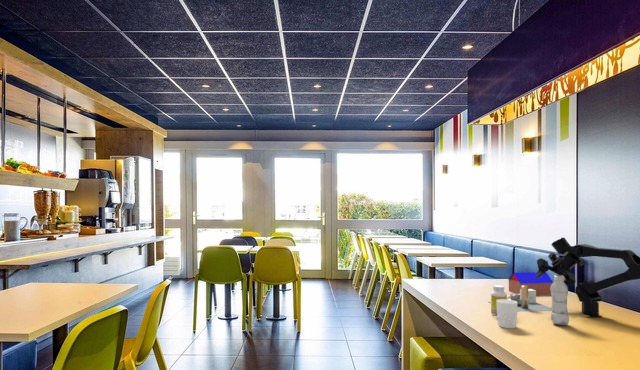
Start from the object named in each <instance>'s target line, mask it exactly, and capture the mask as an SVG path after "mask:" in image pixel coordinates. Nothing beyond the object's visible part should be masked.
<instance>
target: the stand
mask: <svg viewBox="0 0 640 370" xmlns="http://www.w3.org/2000/svg"><path fill="white" fill-rule="evenodd" d="M519 295H520V299H521V289H520V294H519ZM488 303H489V304H491V301H488ZM528 307H529V308H522V307H521V305H517V313H518V312H552V307H550V306H547V305H544V304H541V303H538V302H537V295H536V290H533V289H528Z"/></svg>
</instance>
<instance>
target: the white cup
mask: <svg viewBox="0 0 640 370" xmlns="http://www.w3.org/2000/svg"><path fill="white" fill-rule="evenodd" d="M496 303H497V314H496V315H497V316H496V317H497V326H498V327H500V326H501V328H504V329H505V328H506V329H516V328H517V321H518V312H517V301H514V300H508V299H498V300H496Z"/></svg>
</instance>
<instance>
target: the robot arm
mask: <svg viewBox="0 0 640 370" xmlns="http://www.w3.org/2000/svg"><path fill="white" fill-rule="evenodd" d="M551 247H552V248H553V249H554V250H555V251H556V253H557V254H558V255H557V254H556V253H555V252H551V253H549V254H548V255H547V257H548V259H549V260H550V261H551V265H552V266H551V265H549V262H548V260H546V259H544V258H539V259H537V260H536V265H537V269H538V270H537V271H536V272H537V274H536V276H535V277H536V278H538V277H540V276H542V275H543V274H545V272H547V273H548V271H550V272H551V273H554V275H562V276H564V283H565V284H566V286H571V287H572V286H574V285H575V284H576V283H577V282H576V277H575V274H574V273H571V272H572V270H571V269H572V268H573V267H575V266H576V265H577V266H584V265H585V264H584V259H581V258H590V257H599V258H601V257H602V258H607V259H609V258H610V259H611V258H612V259H620V260H622V261H623V262H624V264H625V265H626V267H627V269H626V270H625V271H624V272H621V273H618V274H615V275H613V276H611V277H610V276H609V277H607V278H605V279H602V280H599V281H596V282H595V279H591V280H585V281H583V282H581V283H578V284H577V285H576V287H575V295H576V296H577V298H578V301H579V302H581V314H582V315H585V316H587V317H589V318H602V317H603V315H600V309H599V308H600V307H599V306H600V305H599V303H600V302H602V299H603V297H602V296H601V295H600V292H602V291H604V290H607V289H610V288H613V287H615V286H619V285H622V284H625V283H628V282H632V281H635V280H636V281H637V280H640V256H638V255H637V254H636V253H635V252H634V251H633V250H631V249H620V248H619V249H618V248H617V249H616V248H604V247H598V246H597V247H596V246H594V245H592V244H591V245H590V244H587V243H586V244H585V243H583V244H582V243H581V244H574V245H572V246H571V244H570V243H569V241H567V239H566V238H565V237H561V238H559V239H557V240H555V241H553V242H552V243H551ZM561 255H562V256H563V257H562V258H561V257H560V256H561Z"/></svg>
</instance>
